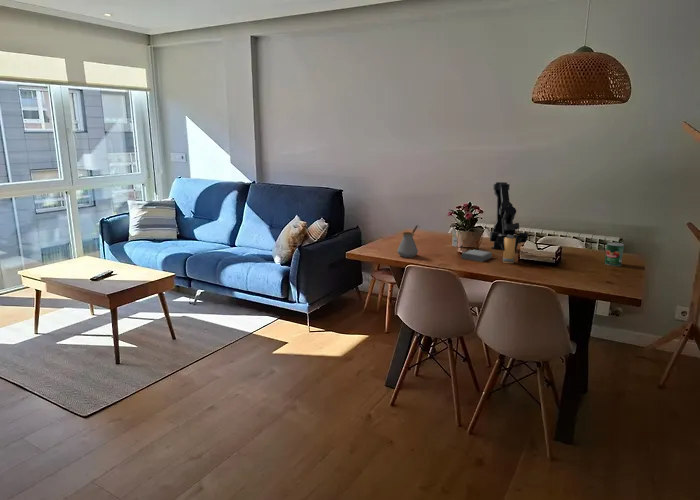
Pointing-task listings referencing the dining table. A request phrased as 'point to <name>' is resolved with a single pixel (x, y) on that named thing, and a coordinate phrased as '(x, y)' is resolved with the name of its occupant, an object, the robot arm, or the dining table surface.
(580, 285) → the dining table surface
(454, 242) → the ink cartridge box
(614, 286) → the dining table surface
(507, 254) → the housing
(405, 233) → the coffee pot
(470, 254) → the stand
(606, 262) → the canned tomato
